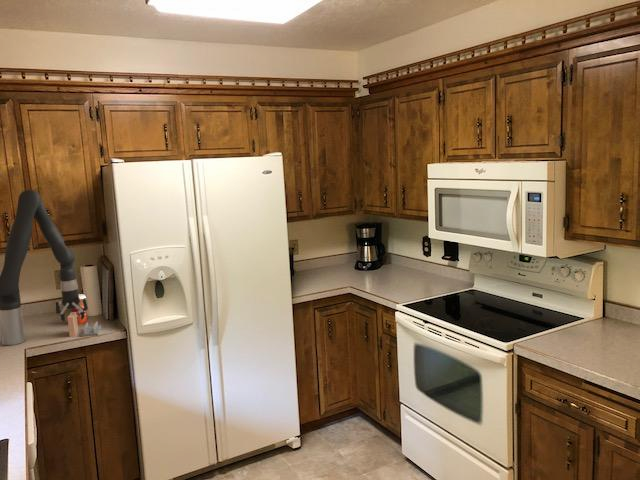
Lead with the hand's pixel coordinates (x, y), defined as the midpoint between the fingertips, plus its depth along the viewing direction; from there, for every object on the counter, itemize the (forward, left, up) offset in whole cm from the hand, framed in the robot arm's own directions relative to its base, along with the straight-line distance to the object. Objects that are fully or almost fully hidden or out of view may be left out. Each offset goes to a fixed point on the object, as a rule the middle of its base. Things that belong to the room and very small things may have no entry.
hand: (73, 319), depth 267 cm
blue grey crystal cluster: (+8, 0, -7) cm, 10 cm away
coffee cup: (0, +19, -7) cm, 20 cm away
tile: (0, 0, -7) cm, 7 cm away
